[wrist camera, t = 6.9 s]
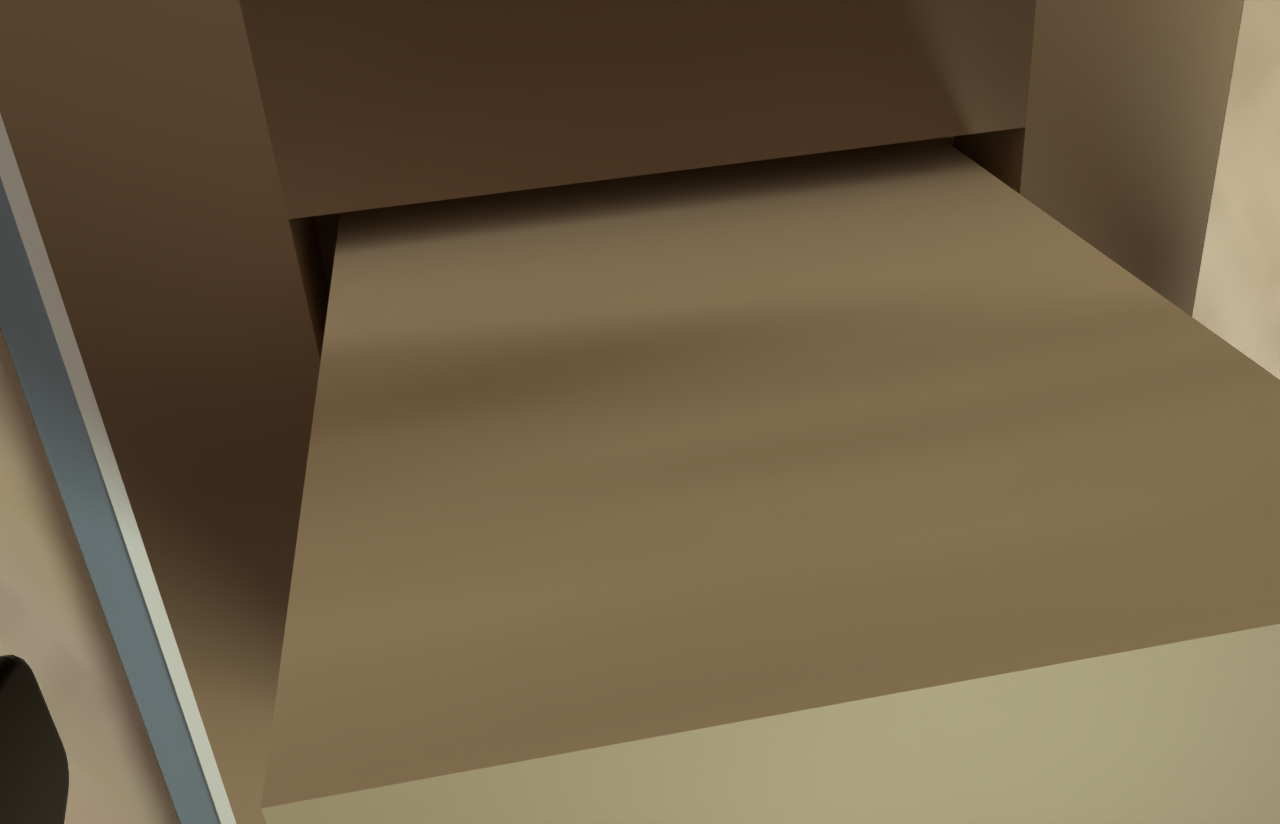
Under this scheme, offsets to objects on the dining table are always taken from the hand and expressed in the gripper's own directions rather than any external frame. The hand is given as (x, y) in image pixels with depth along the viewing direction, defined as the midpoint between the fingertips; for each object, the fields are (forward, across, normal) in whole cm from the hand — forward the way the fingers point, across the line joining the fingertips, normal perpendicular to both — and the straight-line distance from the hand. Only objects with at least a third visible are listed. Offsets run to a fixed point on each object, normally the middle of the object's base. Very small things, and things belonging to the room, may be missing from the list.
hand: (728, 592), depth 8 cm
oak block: (+2, 0, 0) cm, 2 cm away
